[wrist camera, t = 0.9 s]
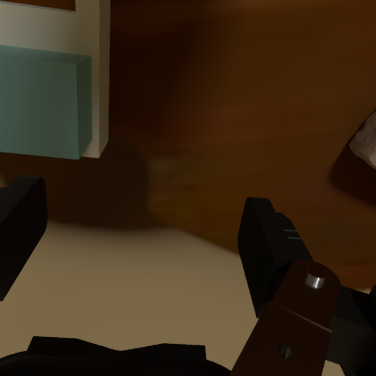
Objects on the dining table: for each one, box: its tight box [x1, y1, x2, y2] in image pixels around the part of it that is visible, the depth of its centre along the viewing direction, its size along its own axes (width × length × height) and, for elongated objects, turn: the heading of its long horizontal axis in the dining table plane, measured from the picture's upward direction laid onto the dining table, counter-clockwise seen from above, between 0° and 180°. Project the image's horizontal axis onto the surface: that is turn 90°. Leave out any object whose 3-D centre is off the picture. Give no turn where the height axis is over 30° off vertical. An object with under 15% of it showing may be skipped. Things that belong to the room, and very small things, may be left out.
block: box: [0, 45, 92, 160], centre depth 22 cm, size 6×6×4 cm
